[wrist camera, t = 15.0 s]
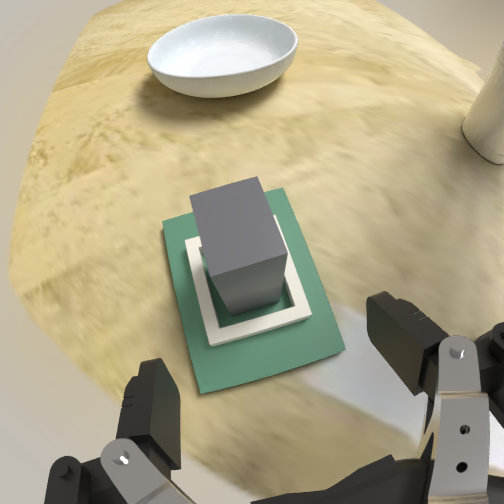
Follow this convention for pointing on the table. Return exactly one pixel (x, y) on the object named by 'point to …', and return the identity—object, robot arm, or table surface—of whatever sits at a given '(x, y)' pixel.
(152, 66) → the serving bowl
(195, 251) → the board
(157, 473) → the robot arm
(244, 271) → the gray rectangular block
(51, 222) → the table surface
